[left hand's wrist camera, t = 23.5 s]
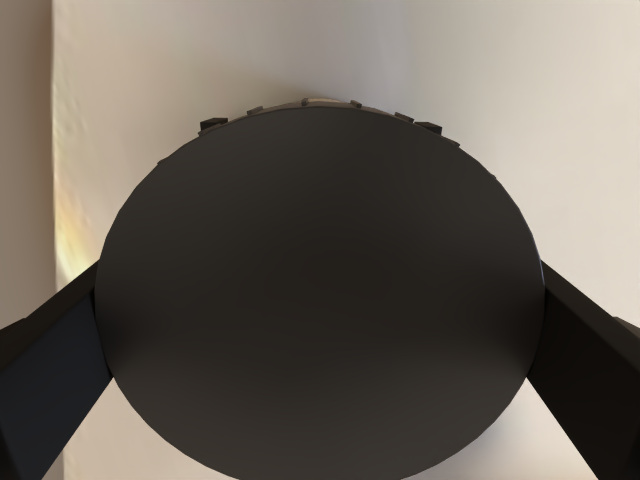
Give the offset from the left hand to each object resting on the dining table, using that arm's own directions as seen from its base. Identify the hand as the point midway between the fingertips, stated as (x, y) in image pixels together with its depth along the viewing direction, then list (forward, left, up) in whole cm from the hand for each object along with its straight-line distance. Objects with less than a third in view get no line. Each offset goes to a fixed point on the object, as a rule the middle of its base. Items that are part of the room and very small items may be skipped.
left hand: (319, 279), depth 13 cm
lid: (0, 0, +3) cm, 3 cm away
